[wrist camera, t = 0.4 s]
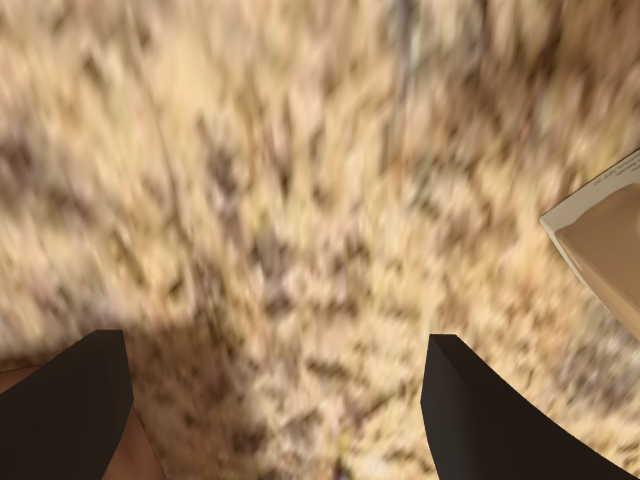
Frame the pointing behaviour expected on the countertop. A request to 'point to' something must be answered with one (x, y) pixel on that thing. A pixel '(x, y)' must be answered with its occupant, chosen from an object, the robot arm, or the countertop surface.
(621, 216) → the skincare box
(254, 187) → the countertop surface
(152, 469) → the walnut screen
